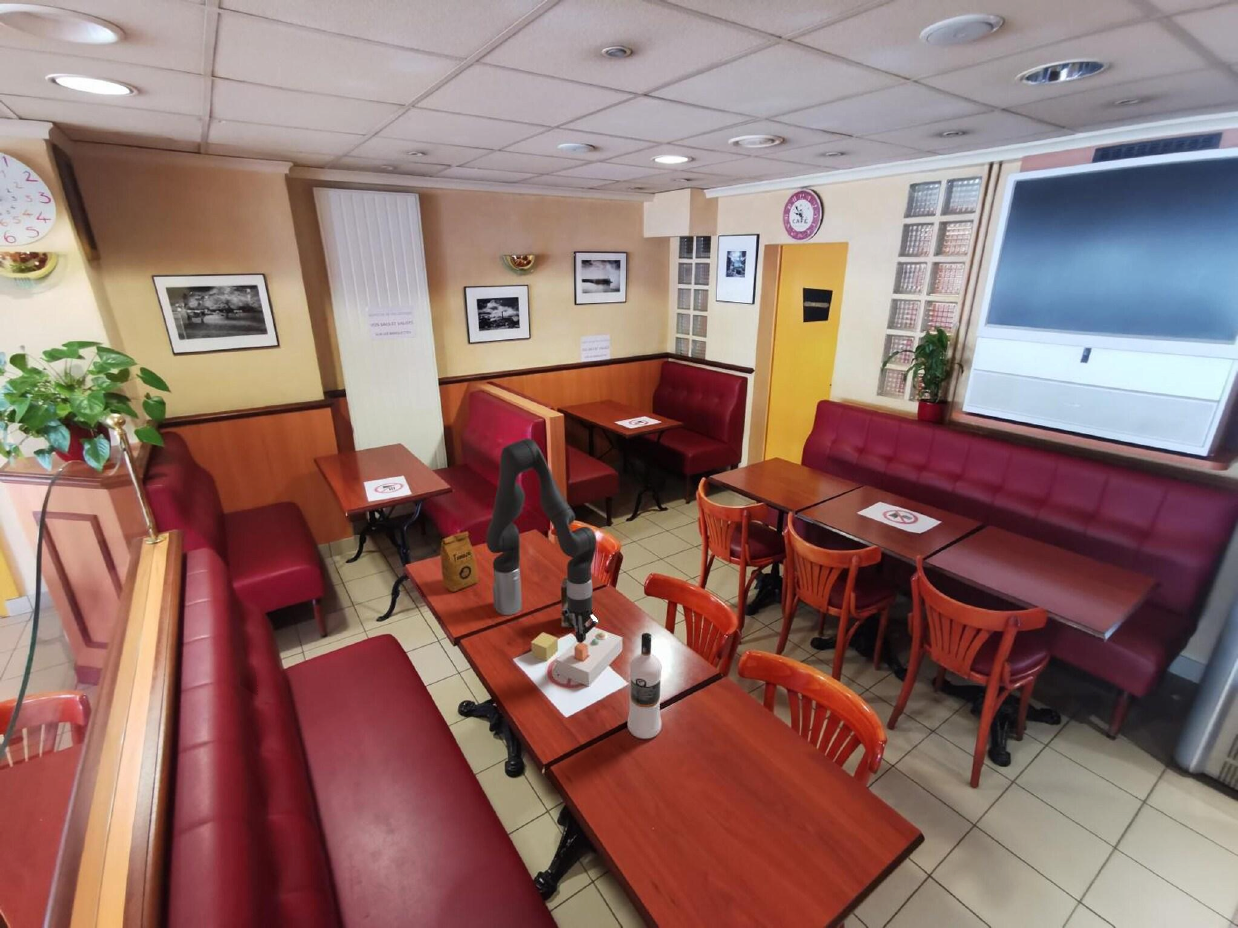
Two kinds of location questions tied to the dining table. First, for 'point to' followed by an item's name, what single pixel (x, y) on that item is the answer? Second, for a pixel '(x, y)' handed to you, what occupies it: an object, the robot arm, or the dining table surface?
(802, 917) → the dining table surface
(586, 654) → the button
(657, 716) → the vodka
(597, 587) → the dining table surface
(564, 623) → the coffee box
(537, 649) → the cap
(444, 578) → the coffee package
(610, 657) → the panel
